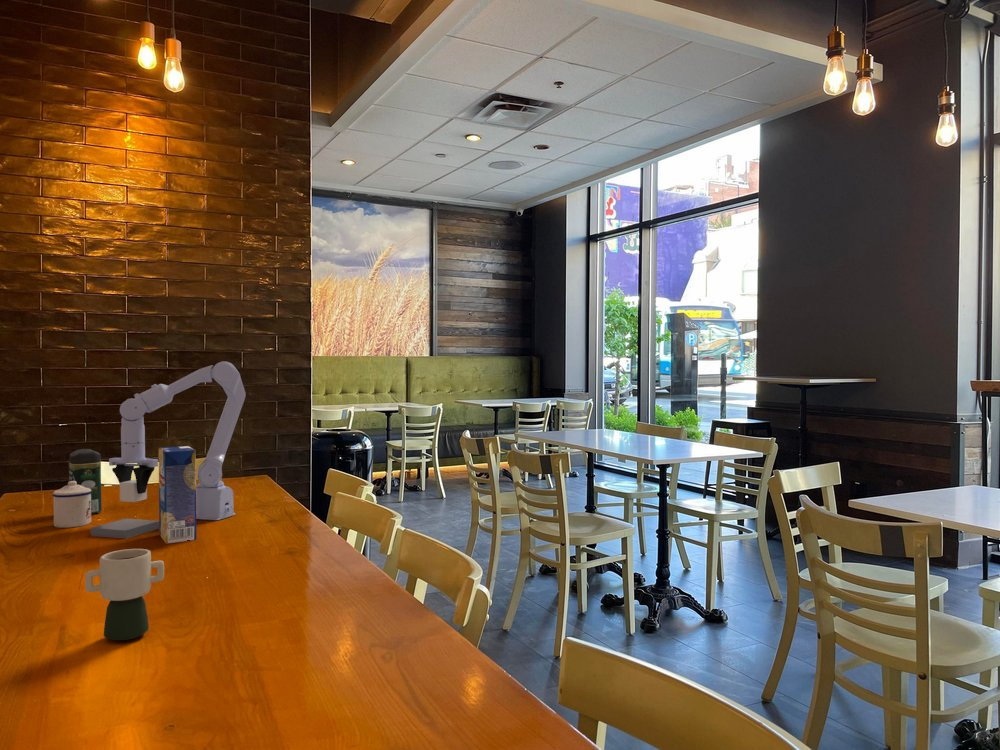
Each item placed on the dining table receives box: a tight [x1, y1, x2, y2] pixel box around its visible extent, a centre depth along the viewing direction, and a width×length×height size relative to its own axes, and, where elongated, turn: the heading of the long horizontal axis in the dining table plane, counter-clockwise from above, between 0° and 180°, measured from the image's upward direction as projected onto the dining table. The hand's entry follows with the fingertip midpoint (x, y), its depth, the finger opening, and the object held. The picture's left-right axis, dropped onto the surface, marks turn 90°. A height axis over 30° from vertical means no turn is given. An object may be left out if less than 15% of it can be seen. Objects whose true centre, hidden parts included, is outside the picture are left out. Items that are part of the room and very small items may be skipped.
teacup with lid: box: [52, 480, 92, 529], centre depth 190 cm, size 12×9×12 cm
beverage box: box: [158, 445, 197, 544], centre depth 174 cm, size 7×11×22 cm, turn 33°
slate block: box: [90, 518, 159, 539], centre depth 180 cm, size 11×11×2 cm
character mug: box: [85, 548, 165, 641], centre depth 110 cm, size 11×7×13 cm, turn 125°
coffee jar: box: [68, 448, 103, 516], centre depth 204 cm, size 10×8×19 cm
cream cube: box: [119, 479, 148, 503], centre depth 190 cm, size 5×5×5 cm
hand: (133, 492), depth 190 cm, fingers closed on cream cube, 5 cm apart
